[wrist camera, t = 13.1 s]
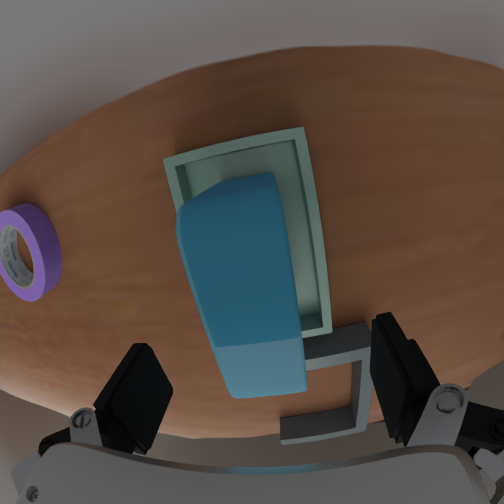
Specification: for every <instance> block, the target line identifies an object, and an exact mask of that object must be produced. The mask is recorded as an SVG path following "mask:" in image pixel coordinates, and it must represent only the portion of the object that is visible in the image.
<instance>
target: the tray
mask: <svg viewBox="0 0 504 504" xmlns="http://www.w3.org/2000/svg"><path fill="white" fill-rule="evenodd" d="M163 162H164V166H165V170H166V174H167V178H168V182H169V186H170V190H171V194H172V198H173V202H174V205H175V209H176V213H177V212H178V210H179V208H180V206H181V205H182V204H184V203H185V202H187V201H188V200H190V199H192V198H193V197H195V196H196V195H198V194H200V193H201V192H203V191H205V190H206V189H208V188H210V187H211V186H213V185H215V184H216V183H219V182H224V181H228V180H233V179H238V178H243V177H248V176H253V175H259V174H264V173H270V172H271V173H273V174H274V176H275V179H276V182H277V185H278V189H279V192H280V197H281V202H282V207H283V212H284V218H285V223H286V229H287V235H288V241H289V247H290V254H291V260H292V266H293V273H294V280H295V287H296V293H297V301H298V308H299V315H300V323H301V330H302V338H306V337H311V336H317V335H322V334H327V333H332V319H331V306H330V295H329V284H328V275H327V266H326V257H325V249H324V241H323V234H322V226H321V219H320V213H319V206H318V200H317V194H316V188H315V182H314V177H313V171H312V166H311V160H310V155H309V150H308V145H307V140H306V136H305V131H304V127H298V128H292V129H286V130H280V131H274V132H269V133H264V134H259V135H254V136H249V137H244V138H240V139H235V140H231V141H227V142H223V143H219V144H215V145H211V146H207V147H203V148H199V149H196V150H192V151H189V152H185V153H182V154H178V155H175V156H172V157H169V158H165V159H163Z"/></svg>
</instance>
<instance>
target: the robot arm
mask: <svg viewBox="0 0 504 504" xmlns="http://www.w3.org/2000/svg"><path fill="white" fill-rule="evenodd" d="M370 375H371V378H372V381H373V384H374V387H375V390H376V393H377V397H378V400H379V403H380V406H381V410H382V413H383V416H384V420H385V423H386V426H387V430H388V434H389V437H390V438H395V442H396V444H398V443H401V442H403V444H404V446H405V447H404V448H398V449H393V450H388V451H384V452H379V453H374V454H370V455H364V456H359V457H355V458H349V459H343V460H337V461H330V462H323V463H316V464H308V465H297V466H285V467H257V468H256V467H255V468H253V467H252V468H251V467H248V468H247V467H244V468H243V467H218V466H204V465H194V464H186V463H178V462H171V461H165V460H159V459H153V458H148V457H143V456H139V455H134V454H132V453H133V451H134V452H136V453H139V454H143V455H146V453H147V451H148V450H149V449H150V448H151V447H152V444H153V441H154V439H155V436H156V434H157V431H158V429H159V426H160V424H161V421H162V419H163V417H164V414H165V412H166V409H167V407H168V404H169V402H170V399H171V397H172V394H173V387H172V385H171V383H170V382H169V380H168V378H167V376H166V374H165V373H164V371H163V369H162V367H161V365H160V363H159V361H158V359H157V358H156V356H155V354H154V352H153V350H152V348H151V347H150V346H148V344H146V343H134V344H133V345H132V346H131V348H130V349H129V351H128V352H127V354H126V355H125V357H124V358H123V360H122V361H121V363H120V364H119V366H118V367H117V369H116V370H115V372H114V373H113V375H112V376H111V378H110V379H109V381H108V382H107V384H106V385H105V387H104V388H103V390H102V391H101V393H100V395H99V396H98V398H97V399H96V401H95V402H94V404H93V406H94V407H95V408H96V410H95V411H94V410H92V409H91V408H81V409H79V410H77V411H76V412H75V413H73V415H72V416H71V418H70V421H69V427H68V428H66V429H63V430H61V431H59V432H56V433H54V434H51V435H49V436H47V437H45V438H44V439H43V440H42V441H41V443H40V445H39V451H38V450H35V451H34V452H32V453H31V454H30V455H28V456H27V457H25V458H24V459H23V460H21V461H20V462H19V463H17V464H16V465H15V466H14V467H13V469H12V472H11V475H12V479H13V481H14V484H15V486H16V489H17V491H18V494H19V498H18V500H17V502H16V504H504V410H499V409H495V408H491V407H488V406H483V405H480V404H476V403H473V402H469V401H468V395H467V393H466V391H465V390H464V389H463V388H462V387H461V386H459V385H456V384H451V383H447V384H442V385H440V383H439V381H438V379H437V377H436V375H435V374H434V372H433V370H432V368H431V366H430V365H429V363H428V361H427V359H426V358H425V356H424V354H423V353H422V351H421V349H420V347H419V346H418V344H417V342H416V341H415V340H414V339H410V340H407V338H406V336H405V335H404V333H403V331H402V329H401V328H400V326H399V324H398V323H397V321H396V319H395V318H394V316H393V315H392V313H391V312H387V313H382V314H378V315H377V316H376V319H373V320H372V334H371V353H370ZM480 469H484V470H485V471H486V472H488V473H489V474H488V476H489V477H490V478H492V479H493V481H494V482H495V484H496V489H495V494H494V495H493V497H492V498H491V500H490V499H489V496H488V492H487V489H486V486H485V483H484V481H483V478H482V476H481V474H480V471H479V470H480Z"/></svg>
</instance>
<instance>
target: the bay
mask: <svg viewBox="0 0 504 504" xmlns="http://www.w3.org/2000/svg"><path fill="white" fill-rule="evenodd" d="M371 334H372V333H371V331H370V329H369V327H368V325H367V323H366V322H362V323H357V324H353V325H348V326H344V327H339V328H334V329H332V333H327V334H322V335H317V336H311V337H306V338H303V346H304V355H305V363H306V371H309V370H314V369H320V368H325V367H330V366H335V365H340V364H345V363H349V362H353V363H352V389H351V406H348V407H343V408H339V409H334V410H329V411H323V412H318V413H312V414H305V415H298V416H291V417H283V418H280V437H281V439H280V441H281V444H282V445H287V444H295V443H303V442H310V441H316V440H322V439H328V438H333V437H338V436H343V435H348V434H352V433H357V432H361V431H365V430H366V426H367V421H368V415H369V409H370V403H371V397H372V390H373V381H372V378H371V375H370V353H371Z"/></svg>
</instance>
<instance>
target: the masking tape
mask: <svg viewBox="0 0 504 504" xmlns="http://www.w3.org/2000/svg"><path fill="white" fill-rule="evenodd" d="M17 231H18V232H19V233H20V234H21V235H22V237H23V238H24V240H25V242H26V244H27V246H28V248H29V251H30V253H31V257H32V261H33V268H34V273H32V272H31V271H30V270H29V269H28V268H27V267H26V266H25V264H24V263H23V261H22V259H21V257H20V254H19V251H18V247H17V239H16V236H17ZM61 273H62V254H61V249H60V244H59V241H58V238H57V235H56V233H55V230H54V228H53V226H52V224H51V223H50V221H49V219H48V218H47V216H46V215H45V214H44V213H43V212H42V211H41V210H40V209H39V208H38V207H36V206H35V205H32V204H28V203H25V204H21V205H18V206H15V207H12V208H10V209H7V210H4V211H2V212H1V213H0V274H1V276H2V277H3V279H4V281H5V282H6V284H7V285H8V287H9V288H10V289H11V290H12V291H13V292H14V293H15V294H16V295H17V296H18V297H20V298H21V299H23V300H25V301H31V302H32V301H36V300H38V299H39V298H40V297H42V296H43V295H44V294H45V293H47V292H48V291H49V290H50V289H52V288H53V287H54V286H55V285H56V284H57V283H58V281H59V279H60V277H61Z"/></svg>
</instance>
